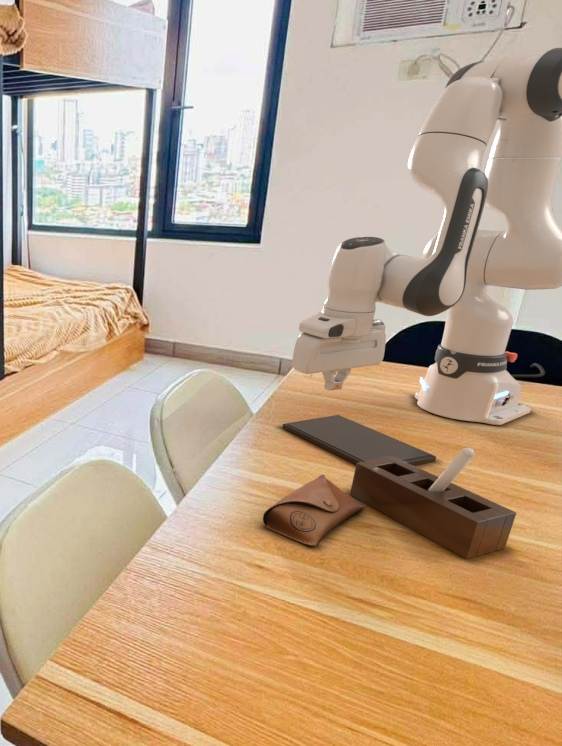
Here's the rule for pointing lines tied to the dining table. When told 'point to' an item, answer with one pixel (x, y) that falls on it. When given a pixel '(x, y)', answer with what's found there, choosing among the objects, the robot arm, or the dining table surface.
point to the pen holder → (433, 507)
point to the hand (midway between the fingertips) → (332, 389)
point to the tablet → (355, 440)
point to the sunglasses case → (311, 512)
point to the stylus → (452, 470)
